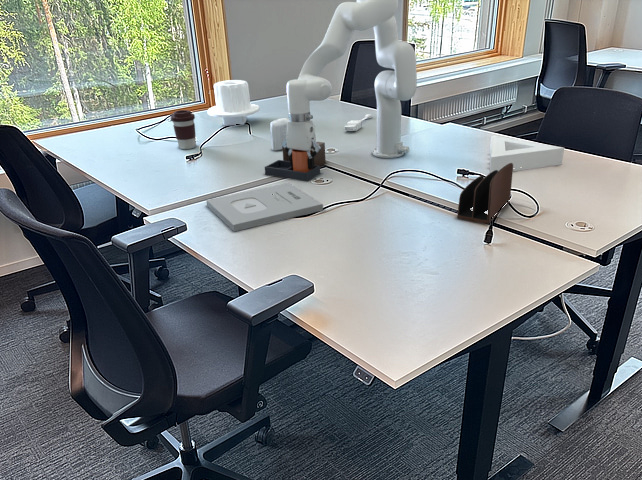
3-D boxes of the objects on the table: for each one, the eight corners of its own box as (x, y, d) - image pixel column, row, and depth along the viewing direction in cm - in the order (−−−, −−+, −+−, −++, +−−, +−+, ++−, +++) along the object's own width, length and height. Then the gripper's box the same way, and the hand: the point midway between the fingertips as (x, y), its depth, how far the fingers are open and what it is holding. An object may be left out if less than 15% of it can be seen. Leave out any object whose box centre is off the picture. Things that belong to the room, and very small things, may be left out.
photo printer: (291, 145, 250) (289, 115, 244) (296, 147, 247) (294, 117, 241) (270, 149, 245) (267, 119, 239) (275, 151, 242) (272, 121, 236)
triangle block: (561, 164, 217) (564, 147, 213) (528, 183, 200) (530, 165, 197) (489, 150, 235) (491, 134, 231) (454, 166, 218) (455, 149, 215)
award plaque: (323, 210, 184) (322, 203, 183) (234, 231, 172) (233, 224, 171) (289, 188, 203) (288, 182, 202) (207, 206, 191) (206, 199, 190)
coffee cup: (171, 149, 250) (164, 113, 242) (184, 143, 258) (178, 108, 250) (190, 151, 247) (184, 115, 239) (203, 144, 254) (198, 109, 247)
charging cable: (374, 119, 289) (374, 112, 288) (353, 132, 263) (353, 125, 261) (364, 118, 291) (364, 111, 289) (343, 132, 264) (343, 124, 263)
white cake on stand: (257, 128, 276) (253, 86, 267) (205, 130, 277) (199, 88, 267) (263, 116, 298) (260, 77, 288) (215, 117, 298) (209, 78, 289)
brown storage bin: (325, 163, 227) (324, 142, 223) (312, 170, 219) (311, 149, 215) (297, 159, 233) (296, 139, 228) (283, 166, 225) (282, 145, 221)
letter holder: (509, 203, 185) (515, 159, 178) (488, 225, 171) (493, 178, 164) (479, 197, 190) (483, 155, 183) (456, 218, 175) (460, 173, 168)
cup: (315, 172, 215) (314, 148, 211) (305, 178, 210) (304, 153, 205) (299, 169, 218) (298, 146, 214) (289, 175, 213) (287, 151, 208)
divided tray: (320, 173, 216) (320, 165, 214) (307, 181, 209) (306, 173, 207) (279, 167, 224) (278, 159, 222) (265, 174, 217) (264, 166, 215)
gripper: (326, 117, 203) (327, 167, 212) (284, 112, 210) (287, 161, 219) (315, 122, 197) (317, 173, 206) (272, 117, 205) (276, 166, 214)
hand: (302, 166), depth 213 cm, fingers closed on cup, 6 cm apart
